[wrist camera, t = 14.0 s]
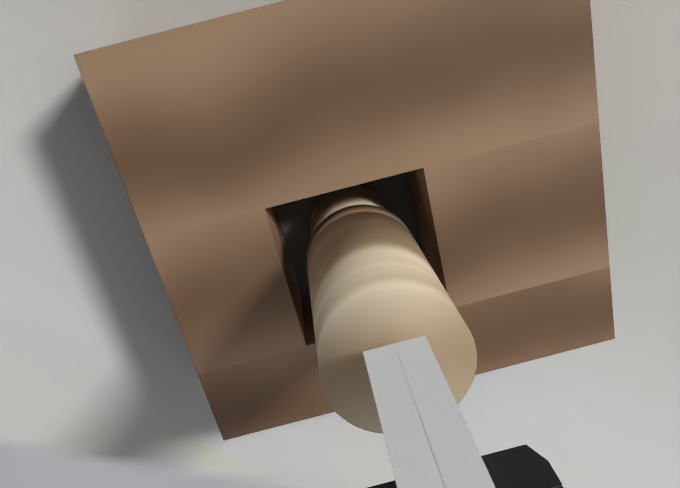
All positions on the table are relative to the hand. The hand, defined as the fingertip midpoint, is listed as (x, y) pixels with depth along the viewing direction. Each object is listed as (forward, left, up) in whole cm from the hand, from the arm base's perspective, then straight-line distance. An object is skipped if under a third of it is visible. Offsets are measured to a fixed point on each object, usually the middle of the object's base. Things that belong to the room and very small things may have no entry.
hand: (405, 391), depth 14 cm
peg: (0, 0, -12) cm, 12 cm away
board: (-2, +1, -12) cm, 12 cm away
